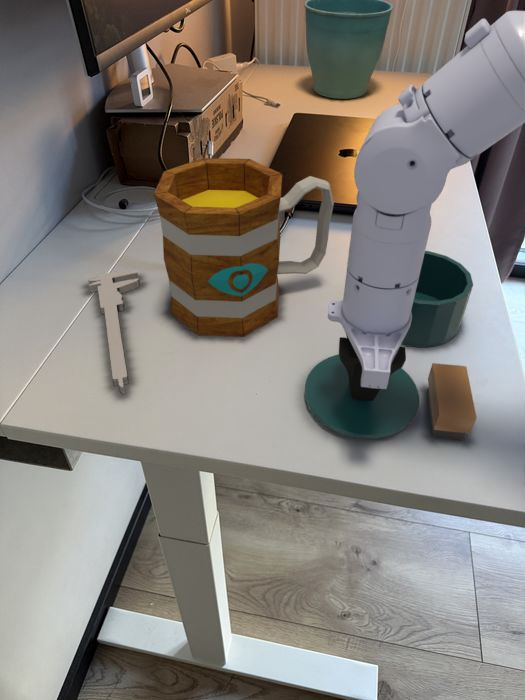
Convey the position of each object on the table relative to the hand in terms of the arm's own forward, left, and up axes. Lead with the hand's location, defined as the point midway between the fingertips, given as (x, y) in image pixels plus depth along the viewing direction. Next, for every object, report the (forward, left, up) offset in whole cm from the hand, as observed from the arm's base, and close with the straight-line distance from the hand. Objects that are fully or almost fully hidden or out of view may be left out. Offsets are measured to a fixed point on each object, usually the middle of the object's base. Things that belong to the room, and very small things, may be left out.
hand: (362, 386), depth 52 cm
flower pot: (+5, -94, -2) cm, 94 cm away
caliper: (+25, -7, -1) cm, 26 cm away
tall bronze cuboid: (-8, +1, -2) cm, 8 cm away
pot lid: (0, 0, -1) cm, 1 cm away
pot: (-6, -13, -2) cm, 15 cm away
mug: (+13, -15, -2) cm, 20 cm away
